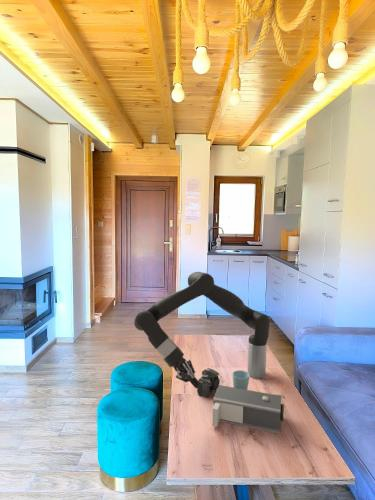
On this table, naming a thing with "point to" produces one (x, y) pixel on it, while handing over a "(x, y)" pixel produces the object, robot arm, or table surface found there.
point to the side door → (227, 413)
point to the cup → (240, 379)
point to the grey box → (253, 408)
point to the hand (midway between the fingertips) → (198, 386)
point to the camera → (208, 382)
